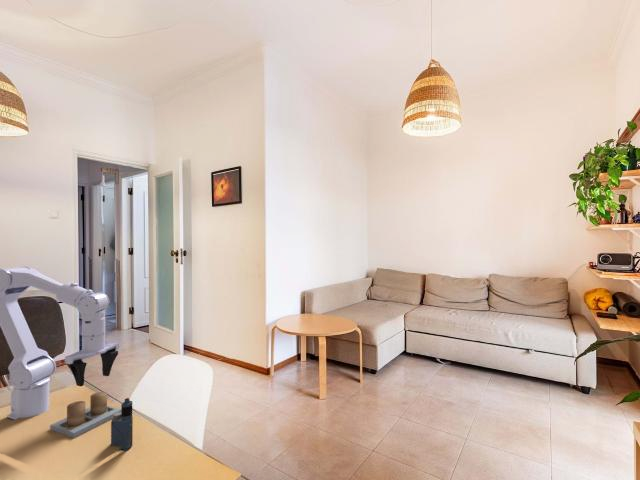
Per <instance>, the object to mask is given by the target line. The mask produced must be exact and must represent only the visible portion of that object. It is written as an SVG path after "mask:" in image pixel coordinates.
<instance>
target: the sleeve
mask: <svg viewBox="0 0 640 480" xmlns="http://www.w3.org/2000/svg"><path fill="white" fill-rule="evenodd" d="M85 409H86V401H83V400H77V401H74V402H71V403H69V404H68V405H67V406H66V418H67V425H66V428H68V429H71V430H72V429H74V428H76V427H78V426H80V425H82V424H84V423H86V420H85Z"/></svg>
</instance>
